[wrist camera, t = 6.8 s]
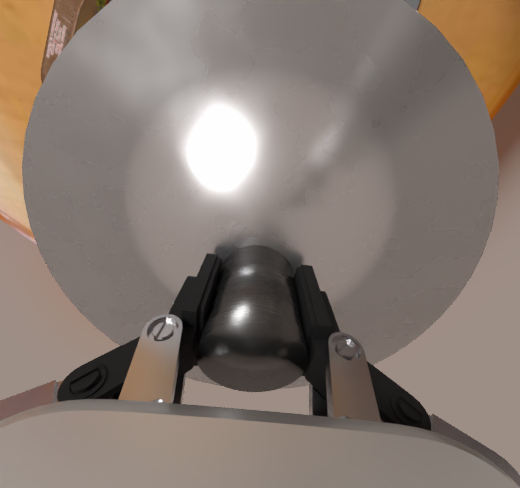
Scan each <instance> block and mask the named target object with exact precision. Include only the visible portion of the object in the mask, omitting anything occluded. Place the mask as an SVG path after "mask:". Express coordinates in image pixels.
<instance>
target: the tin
mask: <svg viewBox="0 0 520 488" xmlns="http://www.w3.org/2000/svg"><path fill="white" fill-rule="evenodd" d="M111 1H112V0H55V1H54V6H53V10H52V16H51V21H50V26H49V31H48V36H47V41H46V46H45V51H44V57H43V61H42V67H41V80H42V84H43V82H44V80H45V78H46V75H47V73H48V71H49V69H50V67H51V65H52V64H53V62H54V61H55V60H56V58H57V57H58V56H59V54H60V53H61V52H62V50H63V49H64V48H65V46H66V45H67V44H68V43H69V41H70V40H71V39H72V37H73V36H74V35H75V33H76V32H77V31H78V30H79V29H80V28H81V27H82V26H83V25H85V24H86V23H87V22H88V21H89V20H90V19H91V18H92V17H94V16H95V15H96V14H97V13H98V12H99V11H100V10H102V9H103V8H104V7H105V6H106V5H107V4H108V3H109V2H111Z"/></svg>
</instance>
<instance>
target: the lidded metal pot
mask: <svg viewBox="0 0 520 488" xmlns="http://www.w3.org/2000/svg"><path fill="white" fill-rule="evenodd" d="M22 173H23V189H24V199H25V204H26V209H27V213H28V218H29V222H30V226H31V229H32V232H33V235H34V237H35V240H36V243H37V245H38V248H39V251H40V253H41V255H42V257H43V259H44V261H45V263H46V264H47V266H48V268H49V270H50V272H51V274H52V276H53V277H54V279H55V280H56V281H57V283H58V284H59V286H60V287H61V289H62V290H63V292H64V293H65V295H66V296H67V297H68V298H69V299H70V301H71V302H72V303H73V304H74V305H75V306H76V308H77V309H78V310H79V311H80V312H81V313H82V314H83V315H84V316H85V317H86V318H87V319H88V320H89V321H90V322H91V323H92V324H93V325H94V326H95V327H96V328H97V329H99V330H100V331H101V332H102V333H104V334H105V335H106V336H108V337H109V338H110V339H111V340H113V341H114V342H115V343H117V344H119V345H120V346H122V345H124V344H126V343H128V342H130V341H132V340H134V339H136V338H138V337H140V336H141V333H142V330H143V328H144V326H145V325H146V324H147V323H148V322H149V321H150V320H151V319H153V318H154V317H157V316H159V315H164V314H168V313H169V311H170V309H171V307H172V305H173V303H174V301H175V299H176V297H177V295H178V293H179V291H180V290H181V288H182V286H183V284H184V282H185V280H186V278H187V277H188V276H195V277H196V276H197V274H198V272H199V270H200V268H201V265H202V263H203V261H204V259H205V256H206V254H207V253H209V254H217V255H218V257H220V258H221V273H220V276H219V279H218V283H217V286H216V289H215V293H214V296H213V299H212V303H211V306H210V309H209V313H208V316H207V319H206V323H205V326H204V329H203V333H202V336H201V339H200V343H199V346H198V349H197V353H196V359H197V363H198V366H193V368H192V369H191V370H189V371H188V372H187V373H186V377H187V378H190V379H194V380H197V381H201V382H205V383H210V384H215V385H220V386H225V387H227V388H231V389H234V390H239V391H247V392H263V391H270V390H275V389H281V388H293V387H300V386H306V385H310V383H309V382H308V381H307V380H306V379H305V376H302V374H303V373H304V372H305V370H306V368H307V365H308V354H307V348H306V343H305V337H304V332H303V327H302V321H301V316H300V310H299V305H298V300H297V294H296V289H295V283H294V276H295V272H296V269H297V267H300V266H301V265H310V266H312V267H313V270H314V273H315V276H316V279H317V282H318V285H319V288H320V291H325V292H326V294H327V296H328V299H329V302H330V305H331V308H332V310H333V313H334V316H335V319H336V321H337V324H338V327H339V330H340V332H343V333H346V334H349V335H351V336H352V337H354V338H355V339H356V340H357V341H358V342H359V343H360V344H361V345H362V347H363V349H364V352H365V356H366V360H367V361H368V362H369V363H370V364H371V365H373V364H375V363H377V362H379V361H381V360H383V359H385V358H387V357H389V356H391V355H392V354H393V353H395V352H397V351H398V350H400V349H402V348H403V347H405V346H406V345H408V344H409V343H410V342H412V341H413V340H414V339H416V338H417V337H418V336H420V335H421V334H422V333H423V332H425V331H426V330H427V329H428V328H429V327H430V326H431V325H432V324H433V323H434V322H435V321H436V320H438V319H439V318H440V317H441V316H442V314H443V313H444V312H445V311H446V310H447V308H448V307H449V306H450V305H451V304H452V303H453V302H454V301H455V299H456V298H457V297H458V295H459V294H460V292H461V291H462V289H463V288H464V286H465V285H466V284H467V282H468V281H469V279H470V278H471V276H472V274H473V272H474V270H475V268H476V266H477V264H478V262H479V260H480V258H481V256H482V254H483V251H484V249H485V246H486V243H487V240H488V237H489V234H490V232H491V229H492V225H493V220H494V215H495V209H496V204H497V199H498V177H499V176H498V175H499V163H498V156H497V148H496V140H495V133H494V129H493V126H492V123H491V120H490V116H489V113H488V110H487V107H486V104H485V101H484V98H483V95H482V93H481V91H480V90H479V88H478V86H477V84H476V82H475V80H474V79H473V77H472V75H471V73H470V71H469V69H468V68H467V66H466V64H465V62H464V60H463V59H462V58H461V57H460V55H459V54H458V53H457V52H456V51H455V49H454V48H453V47H452V46H451V45H450V43H449V42H448V41H447V40H446V38H445V37H444V36H443V35H442V34H441V32H440V31H439V30H438V29H437V28H436V26H434V25H433V24H432V23H431V22H430V21H428V20H427V19H426V18H425V17H423V16H422V15H421V14H420V13H418V12H417V11H416V10H415V9H413V8H412V7H411V6H410V5H409V4H407V3H406V2H405V1H404V0H112V1H111V2H109V3H108V4H107V5H106V6H105V7H104V8H103V9H102V10H100V11H99V12H98V13H97V14H96V15H95V16H94V17H92V18H91V19H90V20H89V21H88V22H87V23H86V24H85V25H83V26H82V27H81V28H80V29H79V30H78V31H77V32H76V33H75V35H74V36H73V37H72V39H71V40H70V41H69V43H68V44H67V45H66V46H65V48H64V49H63V50H62V52H61V53H60V54H59V56H58V57H57V58H56V60H55V61H54V62H53V64H52V65H51V67H50V69H49V71H48V73H47V75H46V78H45V80H44V82H43V84H42V86H41V88H40V90H39V92H38V94H37V96H36V98H35V101H34V104H33V108H32V111H31V115H30V118H29V122H28V126H27V129H26V133H25V142H24V152H23V162H22Z"/></svg>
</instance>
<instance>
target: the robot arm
mask: <svg viewBox="0 0 520 488" xmlns="http://www.w3.org/2000/svg"><path fill="white" fill-rule="evenodd" d="M220 273H221V258H220V257H218V255H217V254H209V253H207V254H206V256H205V259H204V261H203V263H202V265H201V268H200V270H199V272H198V274H197V276H196V277H195V276H188V277H187V278H186V280H185V282H184V284H183V286H182V288H181V290H180V291H179V293H178V295H177V297H176V299H175V301H174V303H173V305H172V307H171V309H170V311H169V313H168V314H164V315H159V316H157V317H154V318H153V319H151V320H150V321H149V322H148V323H147V324H146V325H145V326H144V328H143V330H142V333H141V336H140V337H138V338H136V339H134V340H132V341H130V342H128V343H126V344H124V345H122V346H120V347H118V348H116V349H114V350H112V351H110V352H108V353H106V354H104V355H102V356H100V357H98V358H96V359H94V360H92V361H90V362H88V363H86V364H84V365H82V366H80V367H79V368H77V369H75V370H74V371H73V372H71V373H70V374H69V375H68V376H67V377H66V378H65V379H64V380H63V381H60V382H58V383H57V382H56V380H54V381H51V382H49V383H46V384H43V385H41V386H38V387H35V388H33V389H30V390H27V391H25V392H22V393H19V394H17V395H14V396H11V397H9V398H6V399H3V400H1V401H0V488H520V475H519V474H518V473H517V471H516V470H515V469H514V468H513V467H512V466H511V465H510V464H509V463H508V462H507V461H506V460H505V459H504V458H502V457H501V456H500V455H498V454H497V453H496V452H494V451H492V450H491V449H489V448H487V447H486V446H484V445H483V444H481V443H480V442H478V441H476V440H475V439H473V438H471V437H470V436H468V435H467V434H465V433H463V432H462V431H460V430H458V429H457V428H455V427H454V426H452V425H450V424H449V423H447V422H445V421H444V420H442V419H441V418H439V417H437V416H436V415H434V414H432V415H431V416H430V415H428V414H427V412H426V410H425V409H424V408H423V406H422V405H421V404H420V402H419V401H417V400H416V399H415V398H414V397H413V396H412V395H410V394H409V393H408V392H407V391H405V390H404V389H403V388H401V387H400V386H399V385H397V384H396V383H395V382H394V381H392V380H391V379H390V378H388V377H387V376H386V375H384V374H383V373H382V372H380V371H379V370H378V369H377V368H375V367H374V366H373V365H371V364H370V363H369V362H368V361H367V360H366V356H365V352H364V349H363V347H362V345H361V344H360V343H359V342H358V341H357V340H356V339H355V338H354V337H352V336H351V335H349V334H346V333H343V332H340V330H339V327H338V324H337V321H336V319H335V316H334V313H333V310H332V308H331V305H330V302H329V299H328V296H327V294H326V292H325V291H320V288H319V285H318V282H317V279H316V276H315V273H314V270H313V267H312V266H310V265H301V266H300V267H297V269H296V272H295V276H294V283H295V289H296V294H297V300H298V305H299V310H300V316H301V321H302V327H303V332H304V337H305V343H306V348H307V354H308V365H307V368H306V370H305V372H304V373H303V374H302V376H305V379H306V380H307V381H308V382H309V383H310V385H309V415H302V414H291V413H280V412H268V411H256V410H244V409H234V408H222V407H210V406H198V405H186V404H182V402H183V394H184V385H185V377H186V373H187V372H188V371H189V370H191V369H192V368H193V366H198V363H197V359H196V353H197V349H198V346H199V343H200V339H201V336H202V333H203V329H204V326H205V323H206V319H207V316H208V313H209V309H210V306H211V303H212V299H213V296H214V293H215V289H216V286H217V283H218V279H219V276H220Z"/></svg>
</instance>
